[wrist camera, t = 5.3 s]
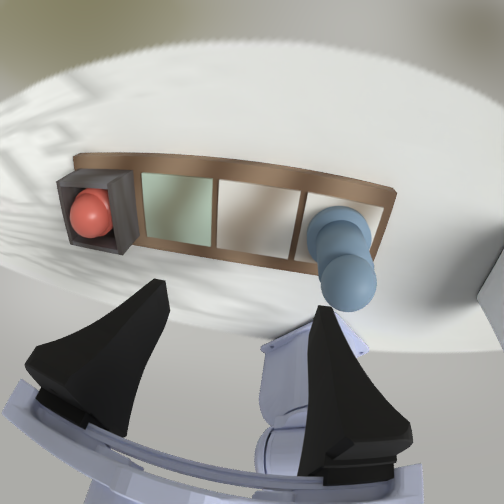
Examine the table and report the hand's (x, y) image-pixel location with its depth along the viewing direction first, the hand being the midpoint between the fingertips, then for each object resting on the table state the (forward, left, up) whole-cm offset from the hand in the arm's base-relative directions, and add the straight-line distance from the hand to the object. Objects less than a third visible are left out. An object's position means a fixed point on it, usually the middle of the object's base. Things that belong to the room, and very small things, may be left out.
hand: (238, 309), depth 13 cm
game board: (-2, +3, -10) cm, 10 cm away
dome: (-8, +10, -8) cm, 15 cm away
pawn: (+4, -4, -9) cm, 10 cm away
